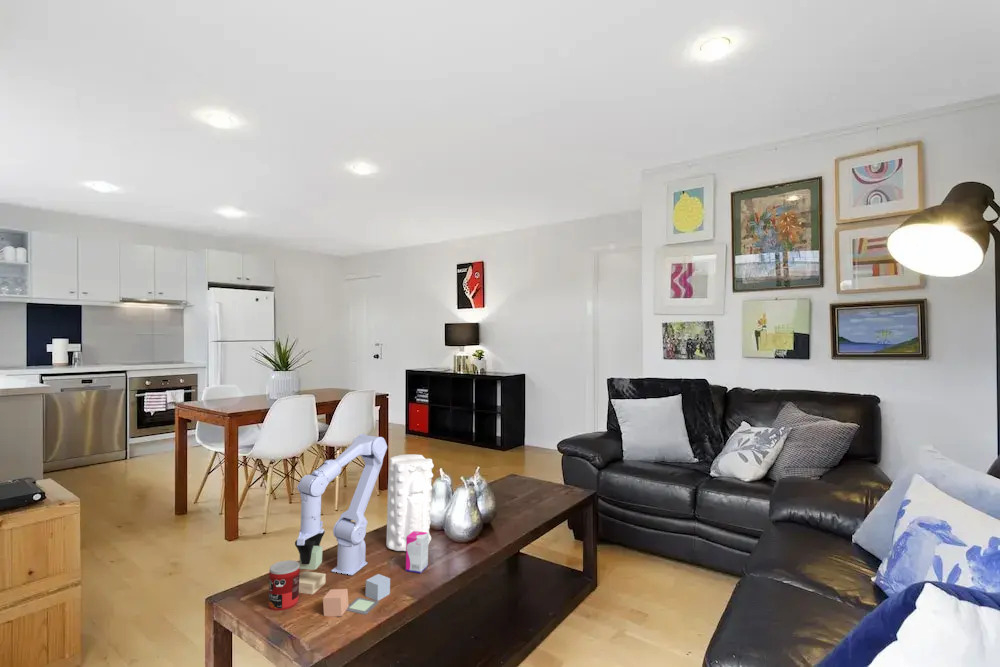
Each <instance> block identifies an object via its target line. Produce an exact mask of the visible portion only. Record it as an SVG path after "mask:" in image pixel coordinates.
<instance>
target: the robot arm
mask: <svg viewBox="0 0 1000 667" xmlns="http://www.w3.org/2000/svg"><path fill="white" fill-rule="evenodd" d="M387 450H388V445H387V442H386V439H385V438H384V437H383V436H374V435H367V434H365V433H361V434H358V435H357V436H356V437H355V438H354V439H353V440H352V443H351V444H350V445H349V446H348V447H347V448H346V449H345V450H344V451H342V453H340V454H339V455H338V456H337V457H336V458H334V459H326V460H325V461H324V462H323V464H321V465H320V466H319V467H318V468H317V469H314V470H313V471H312V472H311V474H305V475H304V476H303V477H301V479H300V480H299V483H298V485H296V487H297V491H298V493H300V495H299V496H300V499H301V500H300V502H301V503H300V529H299V533H298V537H297V538H296V540H295V542H294V545H295V547H296V548H297V551H298V554H299V559H300V558H301V562H302V564H309V563H310V560H311V553H312V549H313V546H321V541H322V539H323V537H324V535H325V529H324V528H323V522H324V521H323V520H322V519H321V518H322V516H321V515H322V514H321V513H322V512H321V511H322V495H323V494H324V493H325V491H326V488H327V486H328V485H329V484H330V483H331V482H332V481H333V480H335V479H336V477H338V476H339V475H341V473H342V468H343V467H346V465H348V464H349V463H350V462H352V461H354V460H355V459H356V458H358V457H359V456H360V457H361V459H363V461H364V467H363V470H362V472H361V474H360V477H359V479H358V483H357V486H356V488H355V491H354V493H353V496H352V498H351V502H350V504H349V507H348V509H347V510H345V511H344V512H342V513H341V514H340V515H339V518H338V519H337V521H336V522H335V524H334V525H333V527H332V528H333V529H332V534H333V536H334V538H336V542H337V555H336V556H337V560H336V561H337V563H336V564H337V565H336V566H334V568H332V569H331V572H332V573H336V572H337V574H341V573H342V574H343V575H347V574H348V576H354V575H355V574H356V573H357V572H359V571H360V570H361V569H363V568H364V567H365V566H366V565H368V562H367V561H366V554H367V553H366V547H367V546H366V541H365V540H364V539H365V537H366V533H367V526H368V519H367V518H366V517H365V513H366V509H367V507H368V505H369V501H370V498H371V496H372V495H373V491H374V488H375V484H376V482H377V480H378V478H379V475H380V471H381V469H382V466H383V462H384V457H385V455H386V452H387Z"/></svg>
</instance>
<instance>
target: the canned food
mask: <svg viewBox="0 0 1000 667" xmlns="http://www.w3.org/2000/svg"><path fill="white" fill-rule="evenodd" d="M300 571H301V569H300V565H299V561H296V560H292V559H291V560H290V559H289V560H281V561H277V562H275V563H274V564H272V565H270V567H269V574H268V575H269V576H268V607H269V609H270V610H272V611H284V610H285V611H286V610H290V609H292V608H293V607H295V606H297V604H298V602H299V598H300V593H299V576H300V575H301V574H300Z"/></svg>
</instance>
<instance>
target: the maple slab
mask: <svg viewBox="0 0 1000 667" xmlns="http://www.w3.org/2000/svg"><path fill="white" fill-rule="evenodd" d="M326 576H327V574H326V573H323V572H315V571H309V570H307V571H306V570H305V571H303V572H302V573H301V574H299V594H300V593H301V594H308V595H313V594H315V593H316V592H317V591H318V590H320V589H321V588H322V587H323V586H324V585H325V584H326V580H327V579H326V578H327V577H326Z"/></svg>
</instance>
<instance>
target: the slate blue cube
mask: <svg viewBox="0 0 1000 667" xmlns="http://www.w3.org/2000/svg"><path fill="white" fill-rule="evenodd" d="M364 594H365V597H366V598H370V600H373V601H378V602H380V601H381V600H382V599H384V598H387V596H389V595H390V594H391V578H390V577H388V576H385V575H382V574H379V573H377V574H375V575H373V576H371V577H370V578H367V579H365V593H364Z"/></svg>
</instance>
